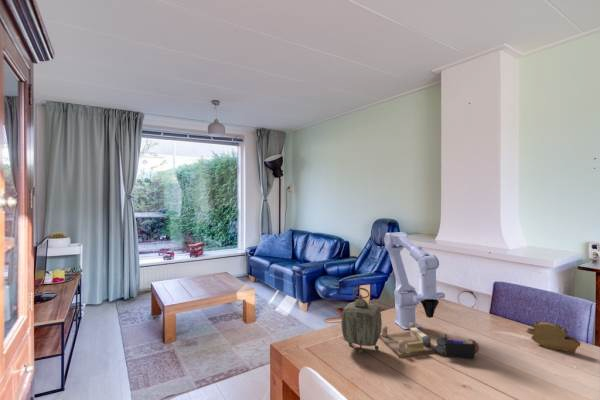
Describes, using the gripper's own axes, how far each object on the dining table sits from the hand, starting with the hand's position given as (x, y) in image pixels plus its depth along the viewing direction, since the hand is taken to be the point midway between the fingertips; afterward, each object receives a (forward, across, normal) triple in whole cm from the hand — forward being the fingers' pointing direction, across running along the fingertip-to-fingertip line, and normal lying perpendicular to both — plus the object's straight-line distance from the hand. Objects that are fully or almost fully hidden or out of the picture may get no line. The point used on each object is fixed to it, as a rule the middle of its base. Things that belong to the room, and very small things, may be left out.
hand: (429, 316), depth 132 cm
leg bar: (+9, -6, -1) cm, 10 cm away
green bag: (+10, -31, +2) cm, 33 cm away
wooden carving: (+10, +39, -22) cm, 46 cm away
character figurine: (+10, 0, -14) cm, 17 cm away
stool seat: (+10, -11, 0) cm, 15 cm away
